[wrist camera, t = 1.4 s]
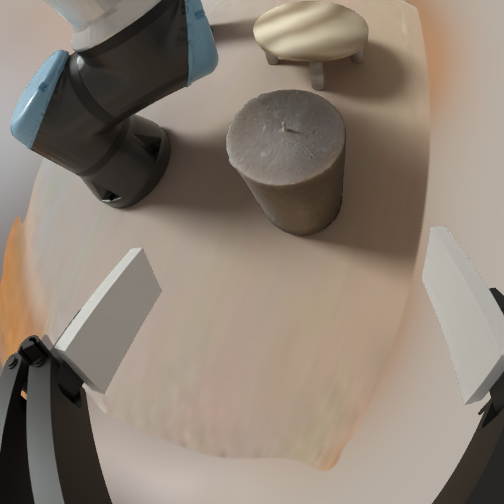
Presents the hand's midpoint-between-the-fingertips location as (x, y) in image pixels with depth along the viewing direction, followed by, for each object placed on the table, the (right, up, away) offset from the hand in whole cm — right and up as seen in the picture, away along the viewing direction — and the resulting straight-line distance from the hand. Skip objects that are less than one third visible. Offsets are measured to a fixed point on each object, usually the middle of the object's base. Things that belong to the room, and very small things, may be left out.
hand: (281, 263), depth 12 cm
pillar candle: (+5, +7, +21) cm, 23 cm away
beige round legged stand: (+9, +32, +25) cm, 42 cm away
